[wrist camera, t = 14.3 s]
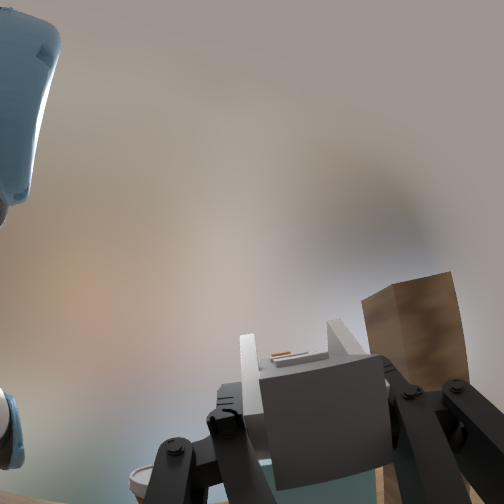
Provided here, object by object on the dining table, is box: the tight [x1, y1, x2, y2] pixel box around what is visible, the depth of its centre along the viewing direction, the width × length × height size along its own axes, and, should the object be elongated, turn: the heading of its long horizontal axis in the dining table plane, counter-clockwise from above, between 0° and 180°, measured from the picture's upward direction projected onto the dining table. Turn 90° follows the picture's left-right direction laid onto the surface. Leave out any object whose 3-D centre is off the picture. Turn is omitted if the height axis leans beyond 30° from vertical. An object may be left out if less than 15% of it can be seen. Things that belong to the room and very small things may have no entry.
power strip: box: [259, 352, 393, 491], centre depth 19 cm, size 4×22×4 cm, turn 179°
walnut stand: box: [361, 272, 470, 504], centre depth 22 cm, size 6×8×30 cm
